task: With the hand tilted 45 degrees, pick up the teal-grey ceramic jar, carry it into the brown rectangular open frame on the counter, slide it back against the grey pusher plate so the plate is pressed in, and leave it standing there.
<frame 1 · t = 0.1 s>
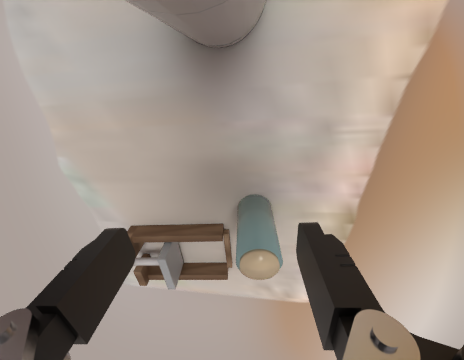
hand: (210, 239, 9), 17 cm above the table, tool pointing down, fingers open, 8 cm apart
jar: (254, 208, 30), on the table
pusher: (152, 261, 33), point 3 cm above the table, slide at 0.0 cm
brown rectangular open frame: (185, 247, 35), on the table
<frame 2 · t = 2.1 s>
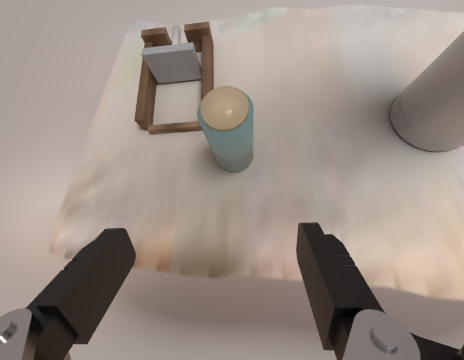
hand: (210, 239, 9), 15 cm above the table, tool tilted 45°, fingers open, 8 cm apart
jar: (234, 154, 27), on the table
pusher: (175, 47, 30), point 3 cm above the table, slide at 0.0 cm
brown rectangular open frame: (180, 87, 31), on the table
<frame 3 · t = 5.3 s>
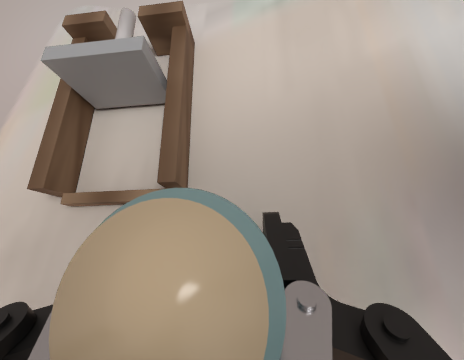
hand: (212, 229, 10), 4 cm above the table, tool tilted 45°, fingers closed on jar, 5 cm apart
jar: (224, 261, 13), on the table, touching gripper
pusher: (122, 47, 16), point 3 cm above the table, slide at 0.0 cm
brown rectangular open frame: (133, 117, 18), on the table
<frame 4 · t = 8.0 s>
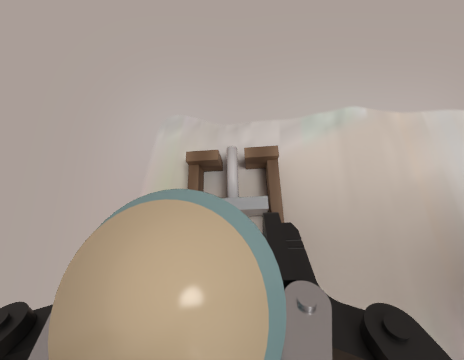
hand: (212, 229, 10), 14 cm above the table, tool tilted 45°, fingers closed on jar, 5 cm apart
jar: (224, 262, 13), point 10 cm above the table, touching gripper
pusher: (232, 179, 22), point 3 cm above the table, slide at 0.0 cm
brown rectangular open frame: (236, 225, 23), on the table
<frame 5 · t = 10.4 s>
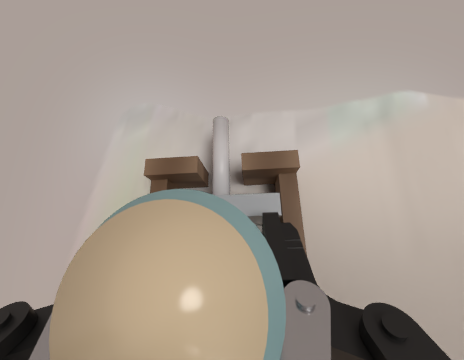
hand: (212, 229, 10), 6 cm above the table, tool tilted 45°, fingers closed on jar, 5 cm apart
jar: (224, 262, 13), point 2 cm above the table, touching gripper, pusher
pusher: (221, 167, 14), point 3 cm above the table, slide at 2.8 cm, touching jar
brown rectangular open frame: (227, 278, 14), on the table
when the fingers open (6 cm above the table, at t = 10.6 s): jar drops 2 cm, resting in brown rectangular open frame.
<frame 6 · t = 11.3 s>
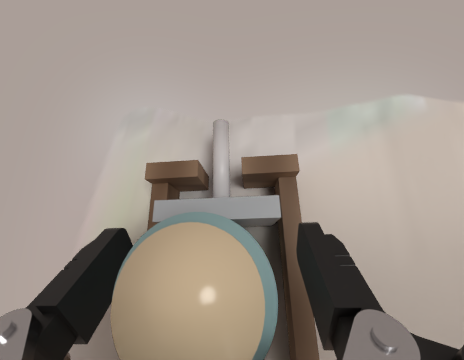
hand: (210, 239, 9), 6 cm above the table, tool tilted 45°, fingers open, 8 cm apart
jar: (227, 264, 15), resting in brown rectangular open frame
pusher: (221, 169, 14), point 3 cm above the table, slide at 2.9 cm
brown rectangular open frame: (227, 281, 15), on the table
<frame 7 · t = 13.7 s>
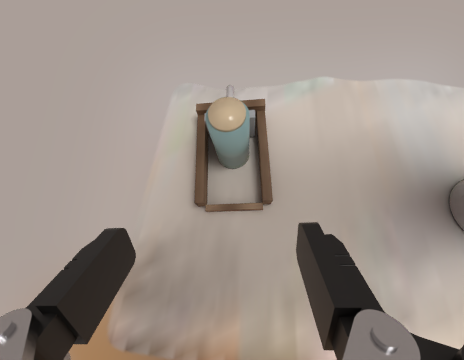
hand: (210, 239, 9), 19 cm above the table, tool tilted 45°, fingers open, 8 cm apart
jar: (233, 153, 31), resting in brown rectangular open frame
pusher: (230, 107, 31), point 3 cm above the table, slide at 2.9 cm
brown rectangular open frame: (233, 160, 31), on the table
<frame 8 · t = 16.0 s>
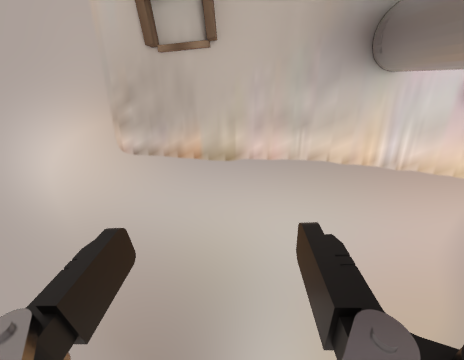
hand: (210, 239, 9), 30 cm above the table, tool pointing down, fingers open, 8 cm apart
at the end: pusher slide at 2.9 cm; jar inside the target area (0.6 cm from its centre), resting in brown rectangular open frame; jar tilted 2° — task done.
